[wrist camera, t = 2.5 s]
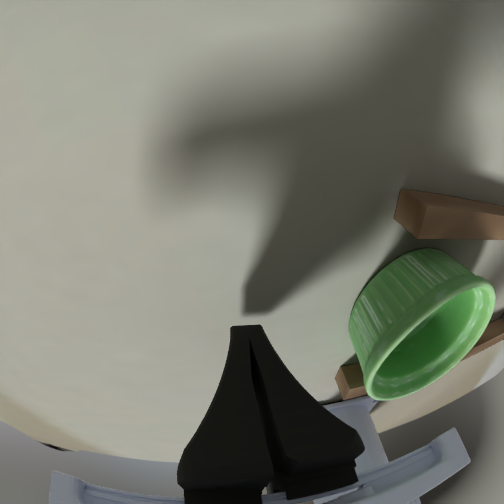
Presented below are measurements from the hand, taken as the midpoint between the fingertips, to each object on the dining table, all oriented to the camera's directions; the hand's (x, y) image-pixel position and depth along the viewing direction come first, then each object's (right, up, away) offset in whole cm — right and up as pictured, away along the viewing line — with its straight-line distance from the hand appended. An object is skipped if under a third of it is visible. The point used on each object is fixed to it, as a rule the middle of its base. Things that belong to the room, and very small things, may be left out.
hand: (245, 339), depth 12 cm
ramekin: (+10, +1, +3) cm, 10 cm away
